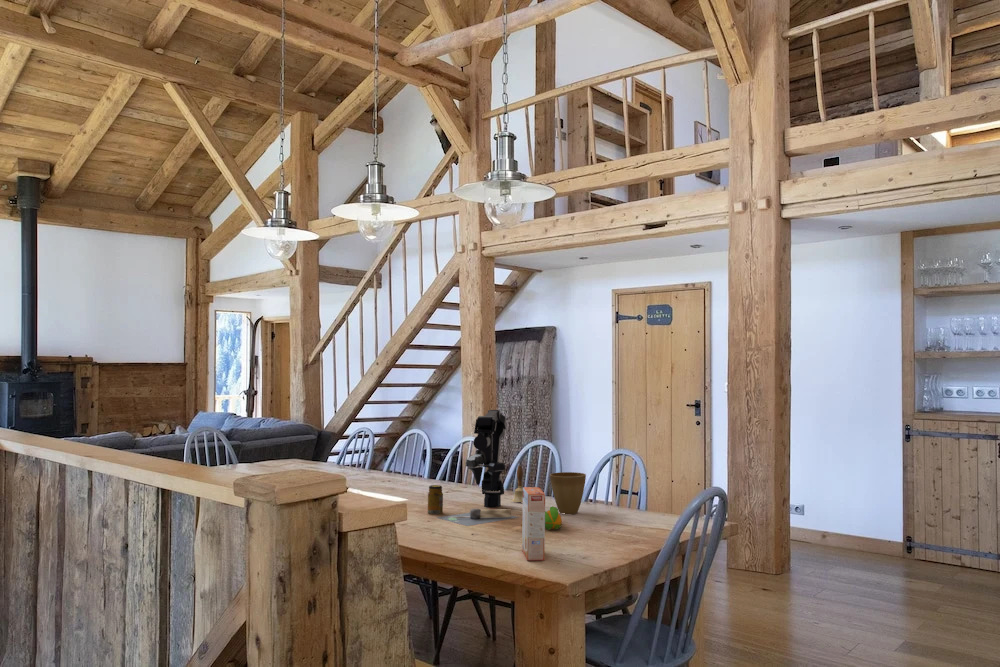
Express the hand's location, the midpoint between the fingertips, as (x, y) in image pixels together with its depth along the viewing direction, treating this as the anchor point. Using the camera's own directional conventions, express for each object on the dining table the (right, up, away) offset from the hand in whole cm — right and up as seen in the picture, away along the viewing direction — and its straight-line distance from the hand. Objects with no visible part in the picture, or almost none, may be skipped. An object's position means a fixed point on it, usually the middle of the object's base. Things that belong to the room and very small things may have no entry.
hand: (485, 486), depth 307 cm
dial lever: (-2, -10, -10) cm, 15 cm away
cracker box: (+17, -10, -64) cm, 67 cm away
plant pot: (+34, -13, +7) cm, 37 cm away
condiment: (-20, -12, -1) cm, 23 cm away
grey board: (-3, -12, -9) cm, 15 cm away
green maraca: (+25, -12, -20) cm, 34 cm away
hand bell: (+15, -14, +32) cm, 38 cm away
